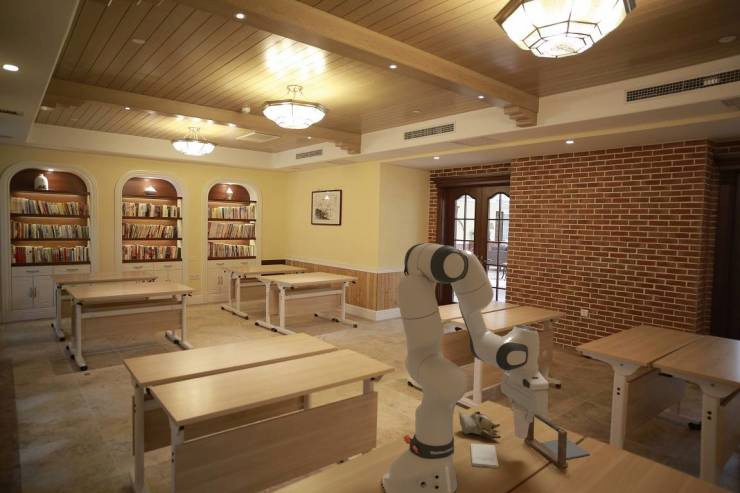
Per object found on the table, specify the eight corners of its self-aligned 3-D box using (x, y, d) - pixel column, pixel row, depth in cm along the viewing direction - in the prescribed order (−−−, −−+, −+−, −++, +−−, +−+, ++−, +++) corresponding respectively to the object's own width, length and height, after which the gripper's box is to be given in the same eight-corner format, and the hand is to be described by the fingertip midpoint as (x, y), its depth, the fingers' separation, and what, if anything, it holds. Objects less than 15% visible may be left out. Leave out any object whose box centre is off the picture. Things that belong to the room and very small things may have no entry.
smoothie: (508, 436, 147) (509, 394, 146) (514, 429, 152) (516, 388, 151) (528, 442, 143) (529, 399, 142) (533, 434, 148) (535, 393, 147)
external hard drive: (494, 449, 154) (498, 470, 142) (470, 447, 156) (472, 467, 143) (494, 445, 154) (498, 465, 142) (470, 443, 156) (472, 462, 143)
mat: (562, 460, 146) (562, 458, 146) (540, 444, 157) (540, 442, 157) (589, 455, 150) (589, 453, 150) (566, 439, 160) (566, 437, 160)
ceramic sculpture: (460, 402, 171) (501, 409, 167) (458, 424, 171) (499, 431, 168) (458, 415, 160) (502, 422, 157) (457, 438, 161) (500, 445, 158)
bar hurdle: (559, 468, 142) (560, 432, 141) (524, 440, 159) (525, 408, 158) (567, 466, 143) (568, 431, 142) (531, 439, 160) (532, 407, 159)
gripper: (497, 365, 155) (495, 404, 156) (535, 387, 136) (533, 431, 137) (512, 364, 157) (511, 403, 158) (552, 385, 138) (550, 429, 138)
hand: (521, 416), depth 147 cm, fingers closed on smoothie, 6 cm apart
